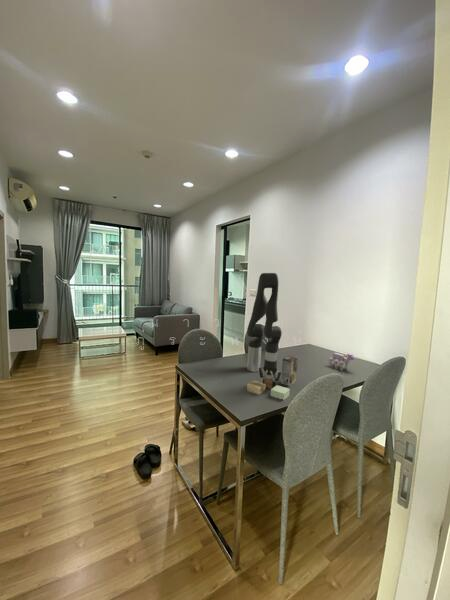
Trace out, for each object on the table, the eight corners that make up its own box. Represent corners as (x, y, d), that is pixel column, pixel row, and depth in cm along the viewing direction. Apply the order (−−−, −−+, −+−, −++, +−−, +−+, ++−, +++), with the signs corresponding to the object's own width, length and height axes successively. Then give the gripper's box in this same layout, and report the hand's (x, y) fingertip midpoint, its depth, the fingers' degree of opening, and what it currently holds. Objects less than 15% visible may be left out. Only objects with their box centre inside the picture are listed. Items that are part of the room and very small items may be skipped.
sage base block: (276, 391, 155) (276, 385, 154) (289, 395, 150) (289, 389, 150) (270, 396, 148) (271, 389, 148) (283, 400, 144) (284, 393, 143)
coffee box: (286, 379, 173) (288, 355, 172) (296, 382, 169) (298, 358, 168) (280, 383, 166) (282, 358, 165) (289, 386, 162) (291, 361, 161)
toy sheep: (359, 372, 194) (360, 354, 192) (351, 375, 188) (352, 357, 186) (334, 363, 210) (335, 347, 208) (326, 366, 204) (327, 349, 202)
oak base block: (253, 386, 160) (254, 380, 160) (265, 390, 155) (265, 384, 155) (246, 390, 154) (247, 384, 153) (258, 395, 149) (259, 388, 148)
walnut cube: (266, 384, 163) (266, 376, 163) (273, 386, 161) (274, 378, 161) (263, 387, 159) (264, 379, 158) (271, 389, 157) (272, 381, 156)
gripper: (284, 359, 159) (282, 386, 160) (261, 355, 165) (259, 381, 167) (281, 362, 152) (278, 390, 154) (257, 358, 158) (255, 385, 160)
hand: (268, 385), depth 160 cm, fingers closed on walnut cube, 5 cm apart
